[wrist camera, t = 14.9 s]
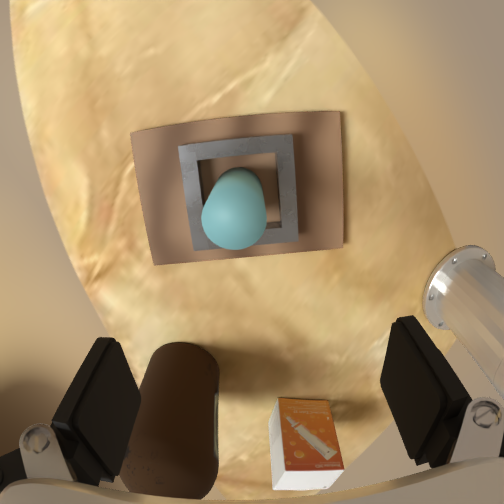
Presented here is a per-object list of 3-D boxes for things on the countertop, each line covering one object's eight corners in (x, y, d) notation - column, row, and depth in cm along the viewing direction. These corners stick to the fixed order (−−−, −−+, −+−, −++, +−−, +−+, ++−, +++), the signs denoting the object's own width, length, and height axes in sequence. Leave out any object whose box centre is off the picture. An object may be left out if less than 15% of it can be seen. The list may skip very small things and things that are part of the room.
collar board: (336, 111, 29) (345, 110, 26) (339, 243, 34) (348, 255, 31) (134, 132, 29) (122, 134, 26) (156, 260, 34) (149, 273, 31)
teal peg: (260, 165, 29) (265, 185, 21) (263, 211, 31) (268, 247, 23) (212, 169, 30) (197, 190, 21) (217, 214, 31) (205, 251, 23)
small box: (328, 399, 44) (346, 469, 32) (315, 423, 46) (328, 489, 34) (276, 396, 43) (284, 471, 31) (267, 421, 46) (271, 491, 34)
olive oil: (140, 378, 42) (95, 535, 19) (156, 326, 38) (96, 514, 15) (209, 401, 43) (196, 560, 20) (236, 353, 40) (232, 545, 17)
